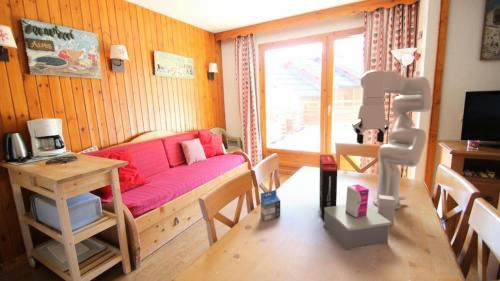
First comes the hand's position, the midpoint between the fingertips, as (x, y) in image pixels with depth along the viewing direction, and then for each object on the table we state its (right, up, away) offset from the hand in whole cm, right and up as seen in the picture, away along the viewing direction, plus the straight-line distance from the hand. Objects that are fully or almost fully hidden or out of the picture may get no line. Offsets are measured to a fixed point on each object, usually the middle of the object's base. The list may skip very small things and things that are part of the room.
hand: (370, 142), depth 101 cm
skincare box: (+9, -36, +5) cm, 37 cm away
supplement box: (-8, -29, -5) cm, 30 cm away
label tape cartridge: (-41, -36, +12) cm, 56 cm away
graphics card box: (-13, -35, +16) cm, 40 cm away
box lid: (-8, -30, -4) cm, 31 cm away
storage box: (-8, -38, -3) cm, 39 cm away
